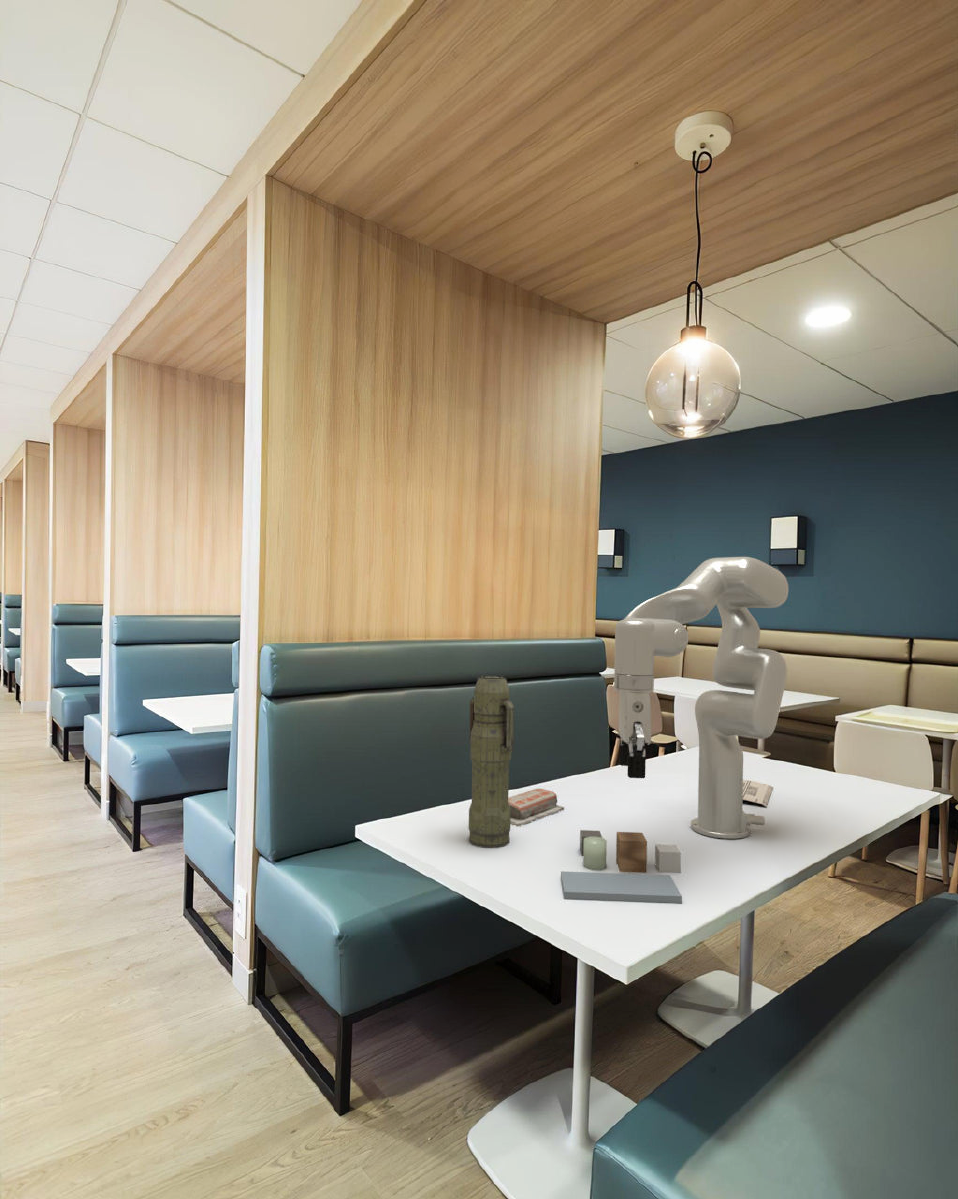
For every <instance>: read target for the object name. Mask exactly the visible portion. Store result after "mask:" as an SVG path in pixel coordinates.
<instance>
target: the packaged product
mask: <svg viewBox="0 0 958 1199" xmlns="http://www.w3.org/2000/svg"><path fill="white" fill-rule="evenodd" d="M557 796H558V795H557V793H556V792H554V791H553V790H552V791H551V790H548V789H543V788H535V789H531V790H527V791H525V792H521V793H518V794H516V795H512V796H510V797H509V796H508V803H509V806H510V809H511V818H510V825H511V824H512V825H511V826H514V825H516V826H515V827H518V826H520V827H522V826H521V825H523V826H525V825H527V824H529V822H530V823H532V822H531V821H533V822H535V821H534V820H536V819H539V820H541V819H545V818H547V817H549V815H550V816H551V814H552V815H554V814H557V813H559V811H560V812H562V811H561V810H563V811H564V810H565V806H561V805H559V804H558V797H557ZM556 812H557V813H556ZM546 816H547V817H546ZM544 817H545V818H544ZM536 821H537V820H536ZM526 823H527V824H526ZM524 824H525V825H524Z"/></svg>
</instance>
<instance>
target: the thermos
mask: <svg viewBox="0 0 958 1199" xmlns="http://www.w3.org/2000/svg"><path fill="white" fill-rule="evenodd" d="M514 739H515V706H514V704H513V702H512V700H510V688H509V684H508V681H507V678H505V677H503V676H501V675H482V676H480V677H479V678H477V681H476V684H475V687H474V691H473V696H472V698H471V699H470V702H469V740H470V741H469V742H470V744H469V745H470V747H469V748H470V750H469V758H470V761H471V763H472V764H471V768H472V770H471V773H472V774H471V802H470V806H469V808H468V830H469V838H468V840H469V843H470V844H471V845H472V846H476V847H478V848H486V849H497V848H498V849H499V848H502V847H505V846H507V845H508V844H509V843H510V831H511V824H510V818H511V809H510V806H509V803H508V798H509V784H510V783H509V781H510V779H509V778H510V774H509V773H510V763H511V760H512V751H513V749H514V743H515V742H514Z"/></svg>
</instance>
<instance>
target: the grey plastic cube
mask: <svg viewBox="0 0 958 1199" xmlns="http://www.w3.org/2000/svg"><path fill="white" fill-rule="evenodd" d="M654 846H655V848H654V850H655V851H654V865H655V864H656V865H655V867H656V869H657V871H658V873H664V874H665V873H668V874H681V868H682V866H681V865H682V864H681V863H682V861H681V860H682V858H681V855H682V852H681V851H680V849H679V847H678V846H677V844H675V845H674V844H655V845H654Z"/></svg>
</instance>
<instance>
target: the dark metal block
mask: <svg viewBox="0 0 958 1199" xmlns="http://www.w3.org/2000/svg"><path fill="white" fill-rule="evenodd" d="M592 836H594V837H601V838H603V836H602V833H601V830H587V829H586V830H585V829H583V830H582V829H580V833H579V851H580V854H581V857H583V851H584V838H586V837H592Z"/></svg>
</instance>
